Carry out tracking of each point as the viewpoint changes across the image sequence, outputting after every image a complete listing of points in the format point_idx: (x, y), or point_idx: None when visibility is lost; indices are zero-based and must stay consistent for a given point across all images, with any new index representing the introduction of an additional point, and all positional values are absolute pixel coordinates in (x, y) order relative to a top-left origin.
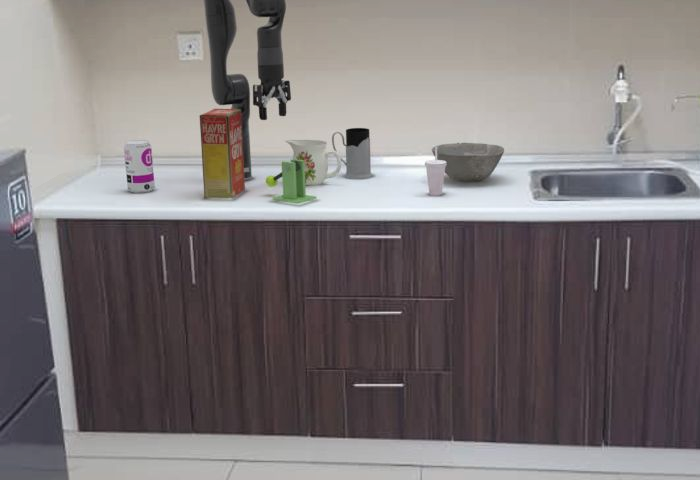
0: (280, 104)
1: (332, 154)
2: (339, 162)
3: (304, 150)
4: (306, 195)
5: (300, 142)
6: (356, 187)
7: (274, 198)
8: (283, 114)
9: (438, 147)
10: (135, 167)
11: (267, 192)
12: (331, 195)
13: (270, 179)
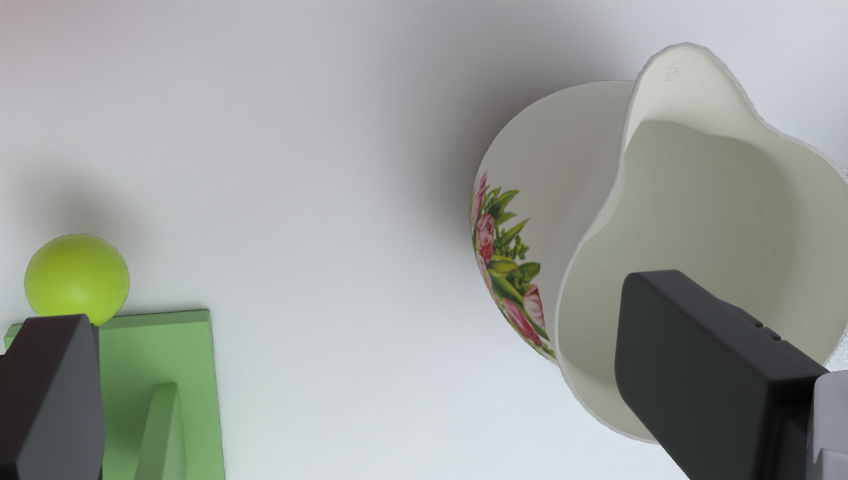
0: (748, 428)
1: None
2: None
3: (550, 340)
4: (208, 455)
5: (769, 136)
6: (622, 437)
7: None
8: (629, 381)
9: None
10: None
11: (204, 84)
12: (383, 470)
13: (37, 313)
